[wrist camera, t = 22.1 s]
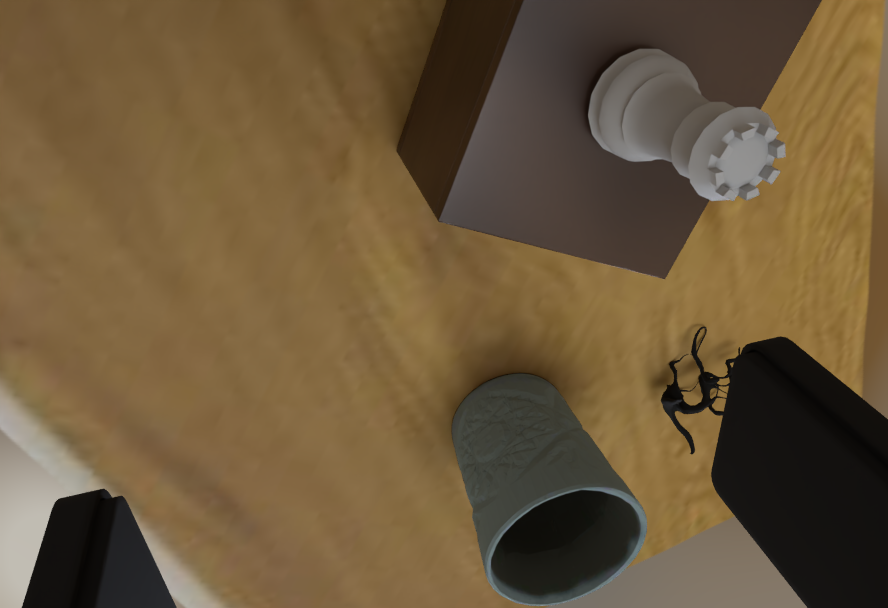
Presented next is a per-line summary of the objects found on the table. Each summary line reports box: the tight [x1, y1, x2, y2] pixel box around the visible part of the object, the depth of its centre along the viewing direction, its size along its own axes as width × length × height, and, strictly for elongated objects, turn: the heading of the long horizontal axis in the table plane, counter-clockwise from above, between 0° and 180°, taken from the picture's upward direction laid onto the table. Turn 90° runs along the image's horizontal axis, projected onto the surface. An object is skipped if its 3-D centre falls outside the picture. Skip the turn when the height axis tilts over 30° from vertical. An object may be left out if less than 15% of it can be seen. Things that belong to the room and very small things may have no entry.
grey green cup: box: [452, 373, 647, 606], centre depth 44 cm, size 10×10×12 cm
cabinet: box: [396, 0, 822, 279], centre depth 32 cm, size 15×13×10 cm
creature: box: [661, 327, 741, 454], centre depth 50 cm, size 8×5×8 cm
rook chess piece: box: [588, 49, 785, 201], centre depth 25 cm, size 4×4×8 cm
